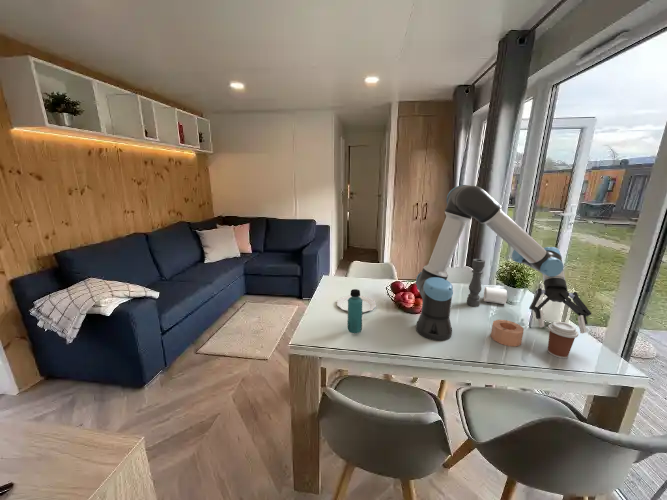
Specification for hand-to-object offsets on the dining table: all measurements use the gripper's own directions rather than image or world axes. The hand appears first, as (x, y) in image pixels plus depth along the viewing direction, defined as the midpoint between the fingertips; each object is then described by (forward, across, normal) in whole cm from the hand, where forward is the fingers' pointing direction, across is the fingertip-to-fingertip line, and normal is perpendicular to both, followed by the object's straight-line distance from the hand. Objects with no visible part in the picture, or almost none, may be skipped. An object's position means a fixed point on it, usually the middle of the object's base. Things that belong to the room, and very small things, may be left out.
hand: (562, 329), depth 110 cm
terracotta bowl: (+5, +18, -7) cm, 20 cm away
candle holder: (-18, +26, -31) cm, 45 cm away
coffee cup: (+9, +1, -4) cm, 10 cm away
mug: (-24, +15, -38) cm, 47 cm away
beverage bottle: (+16, +80, +4) cm, 82 cm away
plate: (-2, +86, -15) cm, 88 cm away
